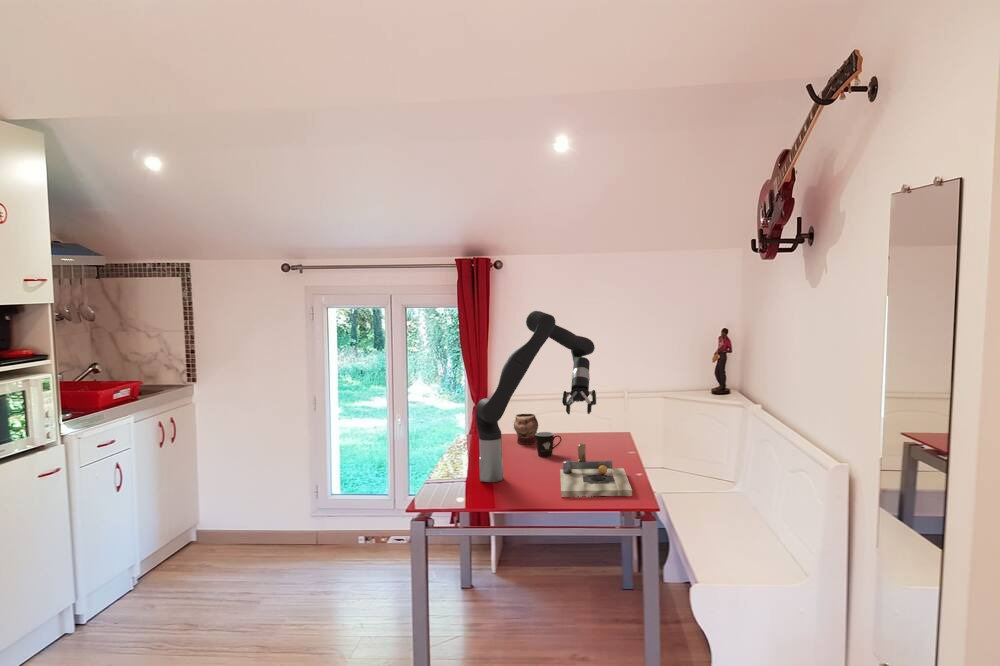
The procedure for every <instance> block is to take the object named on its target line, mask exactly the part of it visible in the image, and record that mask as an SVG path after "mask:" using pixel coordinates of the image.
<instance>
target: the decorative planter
mask: <svg viewBox="0 0 1000 666" xmlns="http://www.w3.org/2000/svg"><path fill="white" fill-rule="evenodd" d="M513 429H514V431H515V432H516V435H517V439H516V443H517V444H520V445H532V444H536V437H535V434H536V433H538V429H539V422H538V420H537V417H536V415H535V413H519V414H516V415H515V420H514V423H513Z"/></svg>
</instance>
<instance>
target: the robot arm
mask: <svg viewBox="0 0 1000 666" xmlns="http://www.w3.org/2000/svg"><path fill="white" fill-rule="evenodd" d="M525 325H526V327H527V329H528V330H529V331H530V332H533V334H532V335H531V337H529V339H528V340H527V341H526V342H525V343H524V344H522V345H521V346H520V347H518V348H517V349H515V350H514V351H513V352H512V353H510V355H509V356H508V358H507V360H506V362H505V363H504V365H503V367H502V369H501V372H500V375H499V377H500V378H499V381H498V384H497V387H496V388H495V391H494V392H493V394H492V396H491V397H490V398H487V397H486V398H482V399H480V400H479V401H478V403H477V405H476V407H475V420H476V430H477V432H478V440H479V441H478V444H479V459H478V460H479V463H478V464H479V481H480V482H483V483H495V482H500V481H501V482H502V480H504V469H503V468H504V466H503V465H504V464H503V463H504V462H503V445H502V444H503V443H502V441H503V440H502V439H503V438H502V431H501V428H500V427H499V426H500V425H499V421H500V420H501V418H502V417H503V416H504V413H505V412H506V409H507V406H508V405H509V403H510V400H511V398H512V396H513V395H514V393H515V392H516V390H517V389H518V387H519V385H520V383H521V382H522V380H523V378H524V376H525V375H526V374H527V371H528V369H529V368H530V366H531V364H532V362H533V360H534V359H535V358H536V356H537V355H538V353H539V351H540V350H541V348H543V345H544V344H545V343H546V341H547V340H548V339H552V340H553V341H555V342H556V343H557V344H559V345H560V346H562V347H564V348H566V349H567V350H570V352H571V356H572V361H573V367H572V368H573V369H572V376H571V386H570V388H571V389H570V392H569V391H566V390H564V391H563V394H562V395H563V396H562V400H561V401H562V405H563V406H565V411H566V413H567V415H570V414H571V406H572V405H573V404H574V403H575V402H576V403H579V402H583V403H584V401H585V403H586V404H587V405H586V406H587V408H586V410H587V411H586V413H587V414H588V415H590V413H592V407H593V406H596V405H597V393H596V390H595V389H593V390H591V391H589V390H590V365H591V363H590V360H589V359H588V358H586V357H585V356H588V355H589V356H590V355H592V354H593V353H594V351H595V348H596V347H595V344H594V342H593V341H592V340H591V338H590V339H589V338H588V337H586V336H583V335H582V336H581V335H577V334H575V333H574V332H572V331H570V330H568V329H566V328H564V327H562V326H559V325H558V324H556V319H555V317H554V315H552V314H549V313H546V312H543V311H540V310H533V311H532V312H530V313H529V314H528V315H527V317H526V321H525ZM589 396H591V397H592V400H590V399H589Z"/></svg>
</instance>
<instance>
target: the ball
mask: <svg viewBox="0 0 1000 666" xmlns="http://www.w3.org/2000/svg"><path fill="white" fill-rule="evenodd" d="M598 470H599V473H601V474H605V473H606V472H607V467H606V466H604V465H601V466H600V467H599V469H598Z"/></svg>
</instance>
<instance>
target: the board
mask: <svg viewBox="0 0 1000 666" xmlns="http://www.w3.org/2000/svg"><path fill="white" fill-rule="evenodd" d="M559 475H560V477H559V478H560V496H561V497H571V498H583V497H582V496H586V497H585V498H594V497H593V496H632V497H633V489H632V487H631V484H630V482H629V479H628V476H627V474H626V471H625V468H623V467H617V468H616V467H615V468H613V467H612V469H607V472H606V473H605V474H601V473H599V470H598V469H572V473H570V474H565V473H563V468H562V469H559ZM573 496H574V497H573ZM578 496H579V497H578ZM591 496H592V497H591Z"/></svg>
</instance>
